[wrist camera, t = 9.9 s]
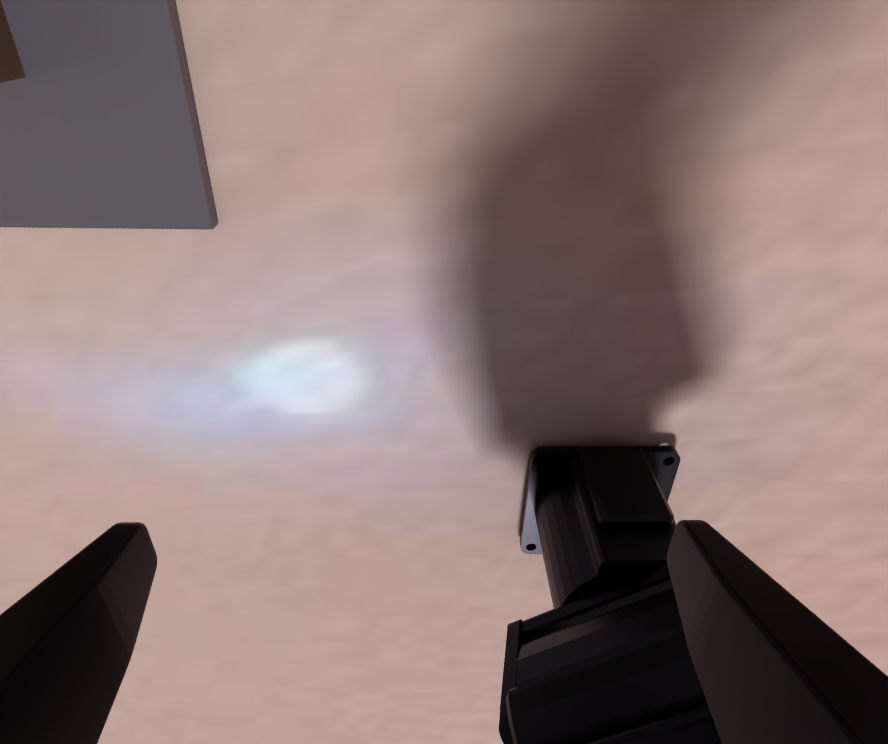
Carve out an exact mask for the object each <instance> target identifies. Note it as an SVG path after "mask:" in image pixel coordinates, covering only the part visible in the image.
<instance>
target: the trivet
mask: <svg viewBox="0 0 888 744" xmlns="http://www.w3.org/2000/svg"><path fill="white" fill-rule="evenodd" d="M1 3H2V6H3V9H4V12H5V15H6V18H7V21H8V24H9V27H10V30H11V33H12V36H13V39H14V42H15V45H16V48H17V51H18V54H19V57H20V60H21V63H22V66H23V69H24V72H25V75H26V77H25V78H20V79H16V80H11V81H7V82H2V83H0V227H37V228H133V229H214V228H215V226H216V225H217V224H218V220H217V214H216V209H215V204H214V199H213V194H212V189H211V183H210V178H209V173H208V168H207V163H206V158H205V153H204V147H203V142H202V137H201V132H200V127H199V122H198V116H197V111H196V106H195V101H194V96H193V91H192V85H191V80H190V75H189V70H188V65H187V60H186V54H185V49H184V44H183V39H182V34H181V29H180V24H179V18H178V13H177V8H176V3H175V0H1Z"/></svg>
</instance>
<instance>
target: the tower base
mask: <svg viewBox="0 0 888 744" xmlns="http://www.w3.org/2000/svg"><path fill="white" fill-rule="evenodd" d="M25 77H26V75H25V72H24V69H23V66H22V63H21V60H20V57H19V54H18V51H17V48H16V45H15V42H14V39H13V36H12V33H11V30H10V27H9V24H8V21H7V18H6V15H5V12H4V9H3V6H2V3H1V0H0V83H2V82H7V81H11V80H16V79H20V78H25Z"/></svg>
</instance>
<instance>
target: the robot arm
mask: <svg viewBox="0 0 888 744" xmlns="http://www.w3.org/2000/svg"><path fill="white" fill-rule="evenodd" d="M541 457H547V458H545V459H542V460H541V459H540V458H541ZM667 457H670V458H668V459H665V458H667ZM664 459H665V460H664ZM679 463H680V457H679V455H678V453H677V451H676V449H675V448H673V447H669V446H543V447H538V448H536V449H534V450H533V451H532V453H531V458H530V466H529V473H528V481H527V489H526V496H525V504H524V512H523V520H522V527H521V535H520V545H521V550H522V551H523V552H524V553H526V554H543V557H544V562H545V567H546V572H547V577H548V582H549V587H550V592H551V597H552V602H553V607H554V609H553V610H550V611H547V612H545V613H542V614H540V615H537V616H535V617H532V618H530V619H527V620H525V621H522V620H518V621H515V622H513V623H510V624H508V629H507V640H506V651H505V661H504V672H503V683H502V693H501V704H500V720H499V732H500V736H501V739H502V741H503V743H504V744H888V676H887V675H886V674H884V673H883V672H882V671H881V670H880V669H879V668H877V667H876V666H875V665H874V664H873V663H871V662H870V661H869V660H868V659H867V658H866V657H864V656H863V655H862V654H861V653H860V652H859V651H857V650H856V649H855V648H854V647H853V646H851V645H850V644H849V643H848V642H847V641H846V640H844V639H843V638H842V637H841V636H840V635H839V634H837V633H836V632H835V631H834V630H833V629H831V628H830V627H829V626H828V625H827V624H826V623H824V622H823V621H822V620H821V619H820V618H819V617H817V616H816V615H815V614H814V613H813V612H812V611H810V610H809V609H808V608H807V607H806V606H804V605H803V604H802V603H801V602H800V601H799V600H797V599H796V598H795V597H794V596H793V595H792V594H790V593H789V592H788V591H787V590H786V589H784V588H783V587H782V586H781V585H780V584H779V583H777V582H776V581H775V580H774V579H773V578H772V577H770V576H769V575H768V574H767V573H766V572H764V571H763V570H762V569H761V568H760V567H759V566H757V565H756V564H755V563H754V562H753V561H752V560H750V559H749V558H748V557H747V556H746V555H744V554H743V553H742V552H741V551H740V550H739V549H737V548H736V547H735V546H734V545H733V544H732V543H730V542H729V541H728V540H727V539H726V538H724V537H723V536H722V535H721V534H720V533H719V532H717V531H716V530H715V529H714V528H713V527H712V526H710V525H709V524H708V523H706V522H705V521H702V520H682V521H680V522H678V524H677V525H676V523H675V521H674V516H673V513H672V511H671V509H670V507H669V505H668V503H667V501H668V498H669V495H670V492H671V488H672V485H673V482H674V479H675V476H676V472H677V469H678V466H679ZM531 543H532V544H531ZM156 567H157V555H156V552H155V549H154V546H153V544H152V541H151V538H150V535H149V533H148V530H147V528H146V526H145V525H144V524H143V523H140V522H122V523H117V524H115V525H113V526H112V527H111V528H109V529H108V530H107V531H106V532H104V533H103V534H102V535H101V536H99V537H98V538H97V539H95V540H94V541H93V542H92V543H90V544H89V545H88V546H87V547H85V548H84V549H83V550H82V551H80V552H79V553H78V554H77V555H75V556H74V557H73V558H71V559H70V560H69V561H68V562H66V563H65V564H64V565H63V566H61V567H60V568H59V569H58V570H56V571H55V572H54V573H53V574H51V575H50V576H49V577H47V578H46V579H45V580H44V581H42V582H41V583H40V584H39V585H37V586H36V587H35V588H34V589H32V590H31V591H30V592H29V593H27V594H26V595H25V596H23V597H22V598H21V599H20V600H18V601H17V602H16V603H15V604H13V605H12V606H11V607H10V608H8V609H7V610H6V611H5V612H3V613H2V614H1V615H0V744H97V743H98V740H99V738H100V735H101V733H102V730H103V728H104V725H105V723H106V720H107V718H108V715H109V713H110V710H111V707H112V705H113V702H114V700H115V697H116V695H117V692H118V690H119V687H120V685H121V682H122V680H123V677H124V675H125V672H126V670H127V667H128V664H129V662H130V659H131V656H132V653H133V649H134V646H135V643H136V639H137V636H138V632H139V629H140V625H141V621H142V618H143V614H144V611H145V607H146V604H147V600H148V596H149V593H150V589H151V586H152V582H153V579H154V575H155V571H156Z"/></svg>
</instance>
